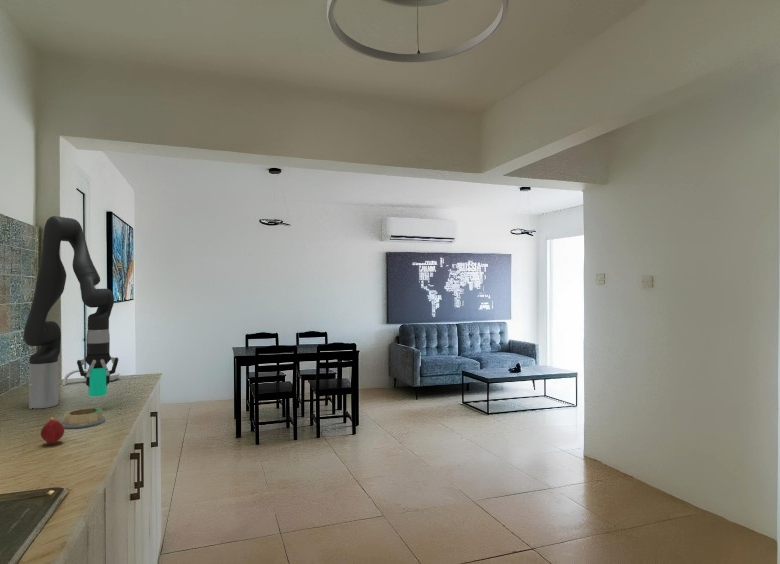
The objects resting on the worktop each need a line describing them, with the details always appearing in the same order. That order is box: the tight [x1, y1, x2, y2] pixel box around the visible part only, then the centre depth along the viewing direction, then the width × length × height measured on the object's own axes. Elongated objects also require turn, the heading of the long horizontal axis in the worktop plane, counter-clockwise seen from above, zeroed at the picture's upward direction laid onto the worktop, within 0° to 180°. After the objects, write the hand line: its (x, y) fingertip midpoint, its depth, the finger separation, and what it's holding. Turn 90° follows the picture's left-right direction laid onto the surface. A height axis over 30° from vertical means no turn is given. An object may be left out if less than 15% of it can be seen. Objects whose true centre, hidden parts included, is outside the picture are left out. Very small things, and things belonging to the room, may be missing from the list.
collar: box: [63, 407, 103, 425], centre depth 169 cm, size 11×11×3 cm
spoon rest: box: [62, 368, 121, 386], centre depth 237 cm, size 24×12×7 cm, turn 124°
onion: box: [40, 416, 65, 445], centre depth 148 cm, size 6×6×8 cm
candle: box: [88, 368, 108, 398], centre depth 185 cm, size 6×6×12 cm
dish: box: [60, 415, 106, 430], centre depth 169 cm, size 13×13×1 cm
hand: (97, 385), depth 185 cm, fingers closed on candle, 5 cm apart
